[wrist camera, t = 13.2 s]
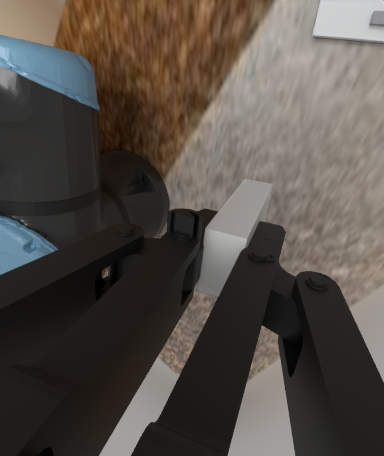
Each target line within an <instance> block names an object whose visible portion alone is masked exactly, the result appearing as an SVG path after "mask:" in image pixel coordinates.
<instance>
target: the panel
mask: <svg viewBox="0 0 384 456" xmlns="http://www.w3.org/2000/svg"><path fill="white" fill-rule="evenodd" d="M313 37H320V38H332V39H343V40H354V41H365V42H376V43H384V0H321V1H320V5H319V9H318V13H317V18H316V22H315V26H314V31H313Z"/></svg>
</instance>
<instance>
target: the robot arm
mask: <svg viewBox="0 0 384 456" xmlns="http://www.w3.org/2000/svg"><path fill="white" fill-rule="evenodd" d="M98 111H100V106H99V105H98V102H97V93H96V84H95V74H94V70H93V68H92V66H91V65H90V63H89V62H88V61H87V60H86V59H85V58H84V57H82V56H81V55H79V54H76V53H73V52H70V51H66V50H63V49H59V48H55V47H51V46H47V45H43V44H39V43H35V42H30V41H26V40H21V39H16V38H12V37H8V36H3V35H0V456H99V454H100V453H101V451H102V449H103V447H104V446H105V444H106V443H107V441H108V439H109V437H110V436H111V434H112V432H113V431H114V429H115V427H116V426H117V424H118V422H119V421H120V419H121V417H122V415H123V414H124V412H125V410H126V409H127V407H128V405H129V404H130V402H131V400H132V399H133V397H134V395H135V393H136V392H137V390H138V389H139V387H140V385H141V384H142V382H143V380H144V379H145V377H146V375H147V373H148V372H149V370H150V368H151V367H152V365H153V363H154V362H155V360H156V358H157V357H158V355H159V353H160V352H161V350H162V348H163V347H164V345H165V343H166V342H167V340H168V338H169V337H170V335H171V333H172V331H173V330H174V328H175V326H176V325H177V323H178V321H179V320H180V318H181V316H182V315H183V313H184V311H185V310H186V308H187V306H188V305H189V303H190V301H191V300H192V298H193V293H194V286H195V284H196V283H197V281H198V287H197V291H200V292H203V293H206V294H210V295H213V296H216V297H218V299H217V301H216V303H215V305H214V307H213V309H212V311H211V313H210V315H209V317H208V319H207V321H206V323H205V325H204V327H203V329H202V331H201V333H200V335H199V337H198V339H197V341H196V343H195V346H194V348H193V350H192V352H191V354H190V356H189V358H188V360H187V362H186V364H185V366H184V368H183V370H182V372H181V374H180V376H179V378H178V380H177V382H176V384H175V386H174V389H173V390H172V393H171V394H170V396H169V398H168V401H167V403H166V405H165V407H164V409H163V411H162V413H161V415H160V417H159V418H158V420H157V421H156V422H151V423H150V424H149V425H148V426H147V427H146V429H145V431H144V432H143V434H142V436H141V437H140V439H139V441H138V443H137V445H136V447H135V449H134V451H133V453H132V455H131V456H227V455H228V452H229V448H230V444H231V440H232V436H233V432H234V429H235V425H236V421H237V417H238V413H239V410H240V405H241V402H242V398H243V394H244V391H245V387H246V383H247V379H248V375H249V372H250V368H251V364H252V360H253V356H254V353H255V349H256V345H257V341H258V337H259V334H260V330H261V326H262V325H263V326H264V327H266V328H268V329H269V330H271V331H273V332H274V333H276V334H278V335H279V337H278V345H279V352H280V358H281V365H282V371H283V378H284V384H285V391H286V397H287V404H288V410H289V417H290V423H291V429H292V436H293V443H294V450H295V456H384V382H383V380H382V378H381V376H380V374H379V372H378V370H377V368H376V365H375V363H374V361H373V359H372V357H371V354H370V352H369V350H368V348H367V346H366V344H365V341H364V339H363V337H362V335H361V333H360V331H359V329H358V327H357V324H356V322H355V320H354V318H353V316H352V314H351V311H350V309H349V307H348V305H347V303H346V301H345V299H344V296H343V294H342V292H341V290H340V288H339V286H338V285H337V283H336V282H335V281H334V280H332V279H331V278H330V277H328V276H326V275H323V274H322V273H317V272H312V271H305V272H301V273H299V274H298V275H297V276H296V277H295V276H293V275H291V274H289V273H287V272H286V271H285V270H284V269H282V267H281V266H280V264H279V257H280V253H281V249H282V245H283V241H284V237H285V233H286V232H285V230H284V228H283V227H282V226H279V225H275V224H271V223H267V222H265V220H266V215H267V211H268V207H269V202H270V198H271V193H272V189H273V184H270V183H265V182H260V181H255V180H251V179H246V178H245V179H244V180H243V181H242V182H241V184H240V185H239V186H238V187H237V189H236V190H235V191H234V193H233V194H232V195H231V196H230V198H229V199H228V200H227V201H226V203H225V204H224V205H223V206H222V208H221V209H220V210H219V212H217V211H213V210H209V209H203V210H200V211H194V210H190V209H174V210H171V211H169V200H168V194H167V190H166V187H165V185H164V183H163V181H162V179H161V177H160V176H159V174H158V173H157V171H156V170H155V169H154V168H153V167H152V166H151V165H150V164H149V163H148V162H147V161H146V160H144V159H143V158H141V157H140V156H138V155H136V154H134V153H131V152H128V151H123V150H112V151H108V152H105V153H102V154H100V144H99V117H98ZM167 217H168V221H167V232H166V233H165V234H164V235H163V236H162V237H161V238H153V237H155V236H156V235H157V234H158V233H159V232H160V231H161V229H162V228H163V226H164V225H165V223H166V220H167ZM107 267H108V276H107V277H105V278H102V270H103V269H105V268H107Z"/></svg>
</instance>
